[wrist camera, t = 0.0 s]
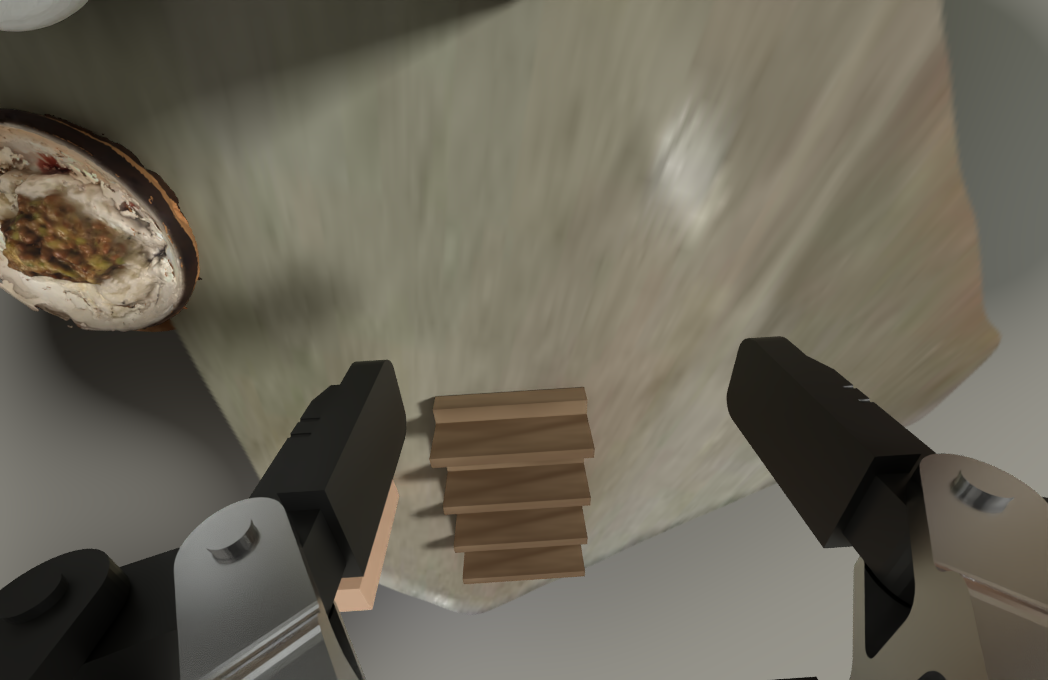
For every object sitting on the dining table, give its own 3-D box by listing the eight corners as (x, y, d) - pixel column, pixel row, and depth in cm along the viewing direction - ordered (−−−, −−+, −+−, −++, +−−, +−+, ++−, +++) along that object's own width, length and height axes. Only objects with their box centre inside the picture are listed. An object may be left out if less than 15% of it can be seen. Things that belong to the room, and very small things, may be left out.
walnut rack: (435, 396, 32) (425, 445, 28) (584, 387, 33) (595, 434, 28) (469, 542, 45) (465, 591, 41) (576, 535, 45) (583, 583, 41)
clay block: (342, 476, 38) (297, 592, 29) (390, 473, 38) (359, 588, 30) (353, 499, 40) (314, 613, 31) (399, 496, 40) (372, 609, 32)
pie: (110, 44, 19) (26, 41, 16) (276, 307, 28) (245, 342, 24) (-155, 112, 20) (-286, 122, 17) (83, 346, 29) (27, 384, 26)
